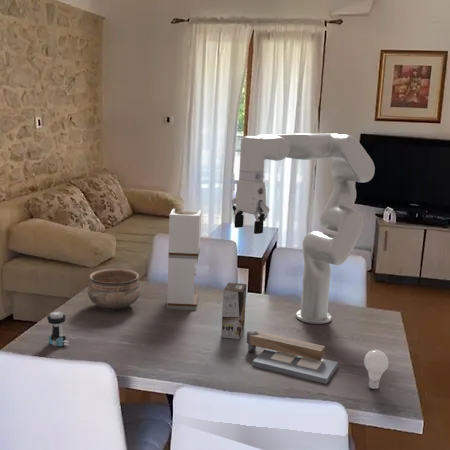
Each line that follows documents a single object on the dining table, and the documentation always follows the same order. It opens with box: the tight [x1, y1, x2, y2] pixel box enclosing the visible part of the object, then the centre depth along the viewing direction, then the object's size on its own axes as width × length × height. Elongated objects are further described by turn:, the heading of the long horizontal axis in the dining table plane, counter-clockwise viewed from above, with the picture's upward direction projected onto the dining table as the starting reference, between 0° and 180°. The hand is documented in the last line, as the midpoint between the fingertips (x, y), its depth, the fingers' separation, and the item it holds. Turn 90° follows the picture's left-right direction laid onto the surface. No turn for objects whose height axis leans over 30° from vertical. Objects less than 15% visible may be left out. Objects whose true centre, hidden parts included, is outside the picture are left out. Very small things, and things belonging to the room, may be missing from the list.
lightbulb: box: [363, 349, 389, 390], centre depth 155 cm, size 6×6×11 cm
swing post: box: [247, 343, 257, 354], centre depth 176 cm, size 2×2×3 cm
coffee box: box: [220, 282, 247, 340], centre depth 188 cm, size 9×6×16 cm
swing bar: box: [246, 330, 326, 361], centre depth 172 cm, size 4×24×3 cm, turn 65°
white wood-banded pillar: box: [166, 208, 202, 311], centre depth 212 cm, size 11×11×35 cm
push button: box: [46, 310, 70, 347], centre depth 175 cm, size 7×5×10 cm
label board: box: [252, 348, 339, 385], centre depth 168 cm, size 12×22×2 cm, turn 65°
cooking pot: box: [87, 268, 142, 312], centre depth 207 cm, size 25×19×12 cm
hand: (248, 230), depth 182 cm, fingers open, 9 cm apart
